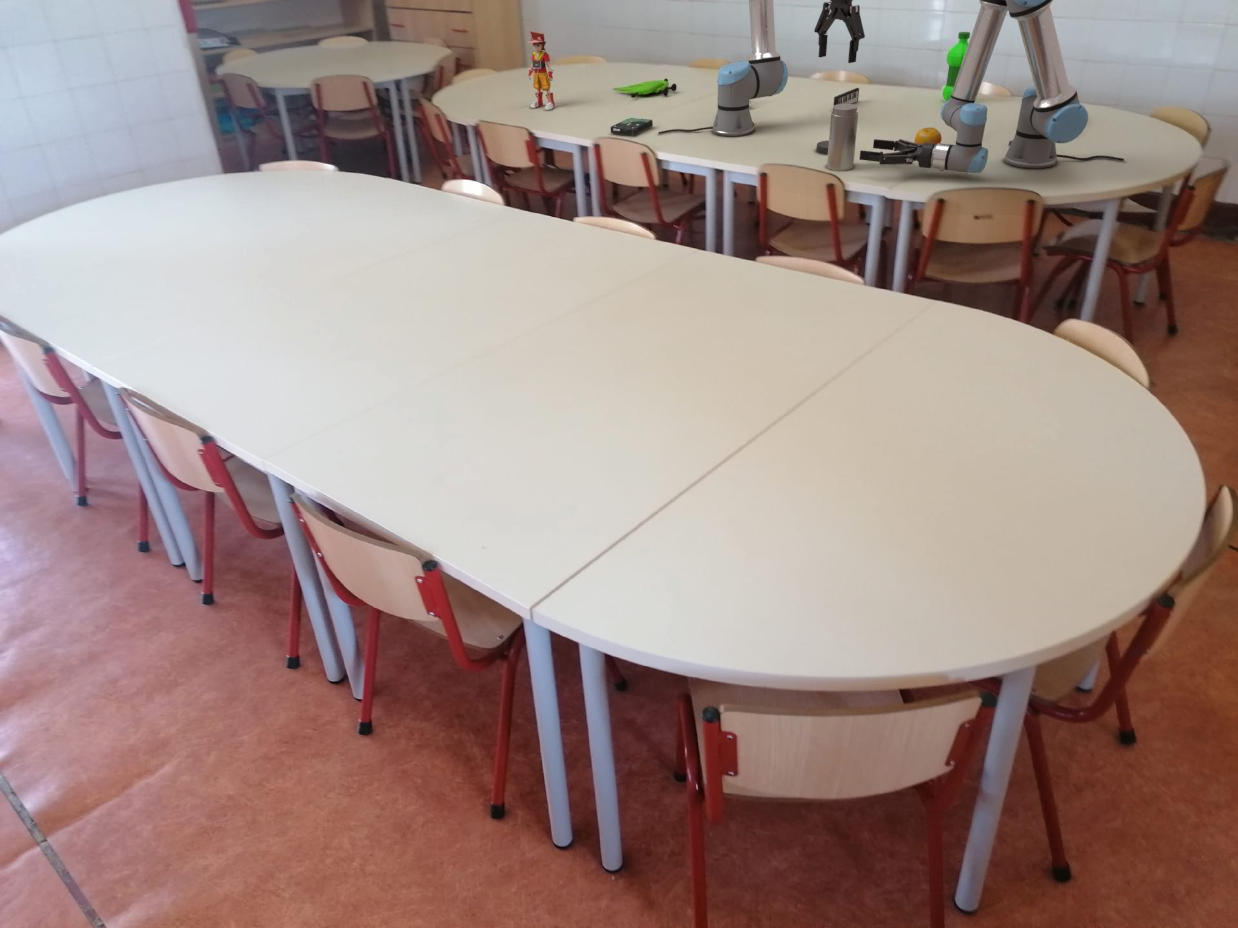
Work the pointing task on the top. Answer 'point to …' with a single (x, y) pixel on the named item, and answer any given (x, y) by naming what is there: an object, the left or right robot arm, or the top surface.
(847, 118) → the jar
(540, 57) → the toy
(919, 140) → the fruit
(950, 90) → the plastic bottle
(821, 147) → the lid
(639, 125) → the disk drive
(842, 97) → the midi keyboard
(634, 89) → the toy
